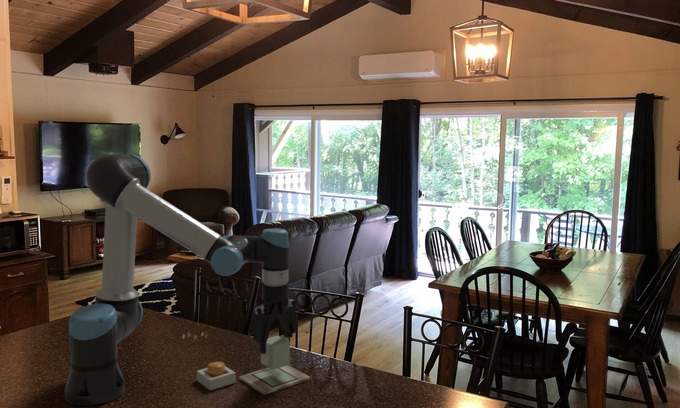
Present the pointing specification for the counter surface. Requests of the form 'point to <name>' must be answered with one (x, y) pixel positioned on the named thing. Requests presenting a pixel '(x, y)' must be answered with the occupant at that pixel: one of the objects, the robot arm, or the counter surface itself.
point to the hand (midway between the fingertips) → (275, 360)
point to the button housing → (216, 378)
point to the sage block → (278, 352)
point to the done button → (216, 369)
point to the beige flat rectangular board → (273, 379)
